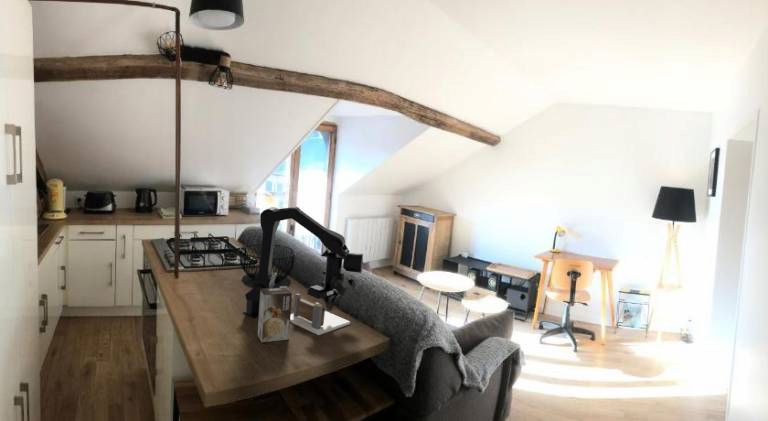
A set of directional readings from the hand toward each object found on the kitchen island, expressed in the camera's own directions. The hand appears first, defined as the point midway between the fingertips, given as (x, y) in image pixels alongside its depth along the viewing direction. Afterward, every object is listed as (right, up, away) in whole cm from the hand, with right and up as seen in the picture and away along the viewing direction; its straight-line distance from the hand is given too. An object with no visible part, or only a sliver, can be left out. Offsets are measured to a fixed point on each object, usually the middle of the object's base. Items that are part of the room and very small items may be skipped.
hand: (329, 310), depth 166 cm
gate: (-7, -3, -2) cm, 8 cm away
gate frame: (-5, -4, +1) cm, 6 cm away
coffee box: (-17, -5, -16) cm, 24 cm away
